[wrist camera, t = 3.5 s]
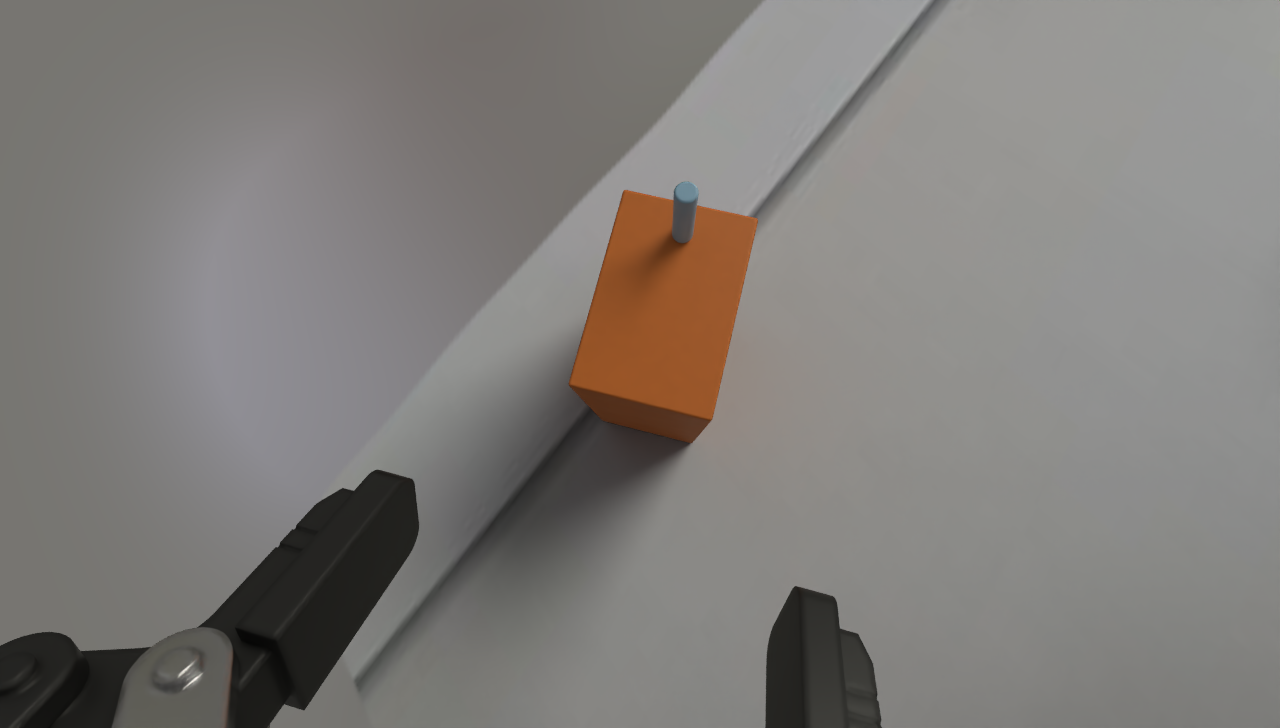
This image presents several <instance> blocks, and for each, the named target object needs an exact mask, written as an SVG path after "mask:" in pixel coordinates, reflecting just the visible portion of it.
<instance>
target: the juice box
mask: <svg viewBox="0 0 1280 728" xmlns="http://www.w3.org/2000/svg"><path fill="white" fill-rule="evenodd" d="M697 201H698V189H697V187H696V186H695V185H694V184H693V183H691V182H682V183H680V184H678V185H677V186H676V188H675V190H674V200H669V199H665V198H660V197H656V196H651V195H646V194H642V193H637V192H633V191H628V190H624V191H623V194H622V198H621V201H620V205H619V208H618V212H617V215H616V219H615V222H614V226H613V229H612V233H611V236H610V240H609V243H608V247H607V250H606V254H605V257H604V261H603V264H602V268H601V271H600V275H599V278H598V282H597V285H596V289H595V292H594V296H593V299H592V303H591V306H590V310H589V313H588V317H587V320H586V324H585V327H584V331H583V334H582V338H581V342H580V345H579V349H578V352H577V356H576V359H575V363H574V366H573V370H572V373H571V377H570V380H569V386H570V387H571V388H572V389H573V390H574V391H575V392H576V393H577V394H578V395H579V397H580V398H581V399H582V400H583V401H584V402H585V403H586V404H587V405H588V406H589V407H590V408H591V409H592V410H593V411H594V412H595V413H596V414H597V415H598V416H599V418H600V419H601V420H603V421H606V422H610V423H614V424H617V425H621V426H625V427H629V428H633V429H637V430H641V431H645V432H649V433H653V434H657V435H661V436H665V437H669V438H673V439H676V440H680V441H684V442H688V443H692V442H693V441H694V440H695V439H696V438H697V437H698V435H699V434H700V433H701V432H702V431H703V430H704V428H705V427H706V426H707V425H708V424H709V423H710V421H711V420H712V418H713V414H714V409H715V405H716V401H717V396H718V392H719V388H720V383H721V379H722V375H723V370H724V366H725V362H726V357H727V353H728V349H729V344H730V340H731V336H732V331H733V327H734V323H735V318H736V314H737V310H738V305H739V301H740V297H741V292H742V288H743V284H744V279H745V275H746V271H747V266H748V262H749V258H750V253H751V249H752V245H753V240H754V236H755V232H756V227H757V223H758V220H757V219H756V218H752V217H748V216H743V215H738V214H734V213H729V212H725V211H720V210H715V209H711V208H706V207H702V206H697Z"/></svg>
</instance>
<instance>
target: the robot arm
mask: <svg viewBox="0 0 1280 728" xmlns="http://www.w3.org/2000/svg"><path fill="white" fill-rule="evenodd" d="M418 531H419V520H418V511H417V502H416V492H415V484H414V481H413V480H412V479H410V478H407V477H403V476H400V475H396V474H392V473H389V472H385V471H381V470H375V471H373V472H371V473H370V474H369V475H368V476H367V477H366V478H365V479H364V480H363V481H362V483H361V484H360V485H359V486H358V487H357V488H356V489H355V491H352V490H348V489H344V488H342V489H340V490H339V491H337V492H335V493H334V494H332V495H330V496H329V497H327V498H325V499H324V500H322V501H320V502H319V503H317V504H316V505H315V506H314V507H313V508H312V509H311V510H310V511H309V512H308V513H307V514H306V515H305V517H304V518H303V519H302V520H301V521H300V522H299V523H298V524H297V525H296V528H295V529H294V530H292V531H290V533H289V534H288V535H287V536H286V537H285V538H284V539H283V540H282V541H281V542H280V545H279V547H278V548H277V547H276V548H275V549H274V550H273V551H272V552H271V553H270V554H269V555H268V556H267V557H266V558H265V559H264V560H263V561H262V563H261V564H260V565H259V566H258V567H257V568H256V569H255V570H254V571H253V572H252V573H251V574H250V575H249V577H248V578H247V579H246V580H245V581H244V582H243V583H242V584H241V585H240V586H239V587H238V588H237V589H236V591H235V592H234V593H233V594H232V595H231V596H230V597H229V598H228V599H227V600H226V601H225V602H224V603H223V604H222V605H221V606H220V608H219V609H218V610H217V611H216V612H215V613H214V614H213V615H212V616H211V617H210V618H209V619H208V620H206V621H205V622H204V623H202V624H201V625H200V626H199V627H197V628H192V629H188V630H184V631H181V632H178V633H175V634H173V635H171V636H168V637H167V638H165V639H163V640H161V641H159V642H158V643H156V644H155V645H154V646H152V647H147V648H135V649H117V650H97V651H80V650H79V649H78V647H77V646H76V645H75V644H74V642H73V641H72V640H71V639H70V638H69V637H67V636H66V635H63V634H60V633H54V632H42V633H35V634H31V635H27V636H23V637H20V638H17V639H15V640H12V641H10V642H7V643H5V644H3V645H1V646H0V728H270V723H271V722H272V720H273V719H274V717H275V716H276V714H277V713H278V712H279V710H280V709H281V707H282V706H283V705H284V704H286V705H289V706H292V707H295V708H298V709H301V710H305V708H306V707H307V706H308V704H309V702H310V701H311V700H312V698H313V697H314V695H315V694H316V692H317V691H318V689H319V688H320V686H321V684H322V683H323V682H324V680H325V679H326V677H327V676H328V674H329V673H330V671H331V670H332V669H333V667H334V665H335V664H336V663H337V661H338V660H339V658H340V657H341V655H342V654H343V652H344V651H345V649H346V648H347V646H348V645H349V643H350V642H351V640H352V639H353V637H354V636H355V634H356V633H357V632H358V630H359V629H360V627H361V626H362V624H363V623H364V621H365V620H366V618H367V617H368V615H369V614H370V612H371V611H372V609H373V608H374V606H375V605H376V603H377V602H378V600H379V599H380V597H381V596H382V594H383V593H384V592H385V590H386V589H387V587H388V586H389V584H390V583H391V581H392V580H393V578H394V577H395V575H396V574H397V572H398V571H399V569H400V568H401V566H402V565H403V563H404V562H405V560H406V559H407V557H408V556H409V554H410V553H411V551H412V549H413V547H414V544H415V542H416V539H417V536H418ZM880 723H881V716H880V709H879V702H878V701H877V688H876V682H875V675H874V668H873V663H872V661H871V659H870V657H869V655H868V653H867V651H866V649H865V647H864V645H863V643H862V641H861V639H860V637H859V635H858V634H856V633H853V632H849V631H846V630H842V629H840V627H839V617H838V607H837V602H836V600H835V598H834V597H833V596H830V595H827V594H823V593H819V592H816V591H812V590H808V589H805V588H801V587H797V586H795V587H794V588H793V589H792V591H791V593H790V595H789V596H788V598H787V600H786V602H785V604H784V606H783V608H782V610H781V612H780V614H779V616H778V618H777V620H776V622H775V624H774V626H773V628H772V631H771V634H770V638H769V643H768V649H767V665H766V727H765V728H882V727H881V725H880Z"/></svg>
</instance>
